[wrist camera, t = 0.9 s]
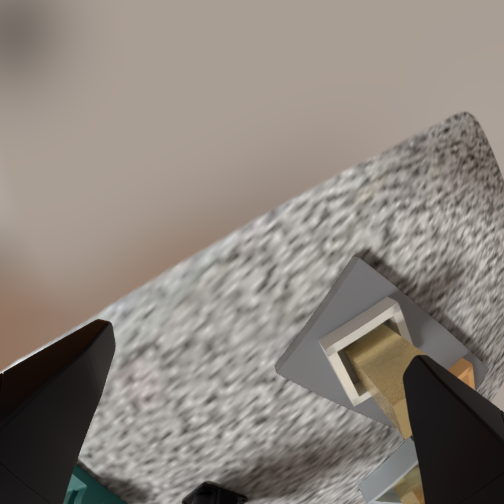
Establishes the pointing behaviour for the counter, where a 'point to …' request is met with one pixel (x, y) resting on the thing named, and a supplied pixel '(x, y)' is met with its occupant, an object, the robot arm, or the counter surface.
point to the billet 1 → (384, 371)
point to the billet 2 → (410, 487)
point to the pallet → (347, 307)
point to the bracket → (88, 490)
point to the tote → (389, 475)
